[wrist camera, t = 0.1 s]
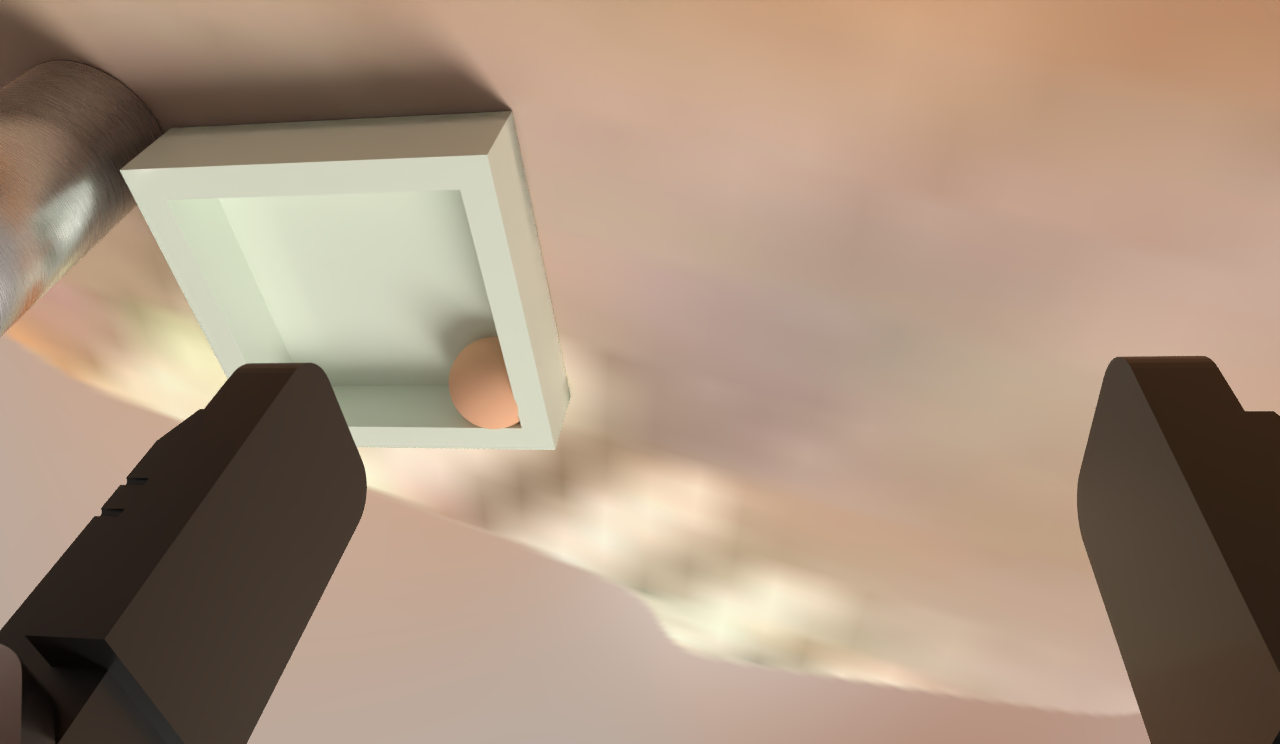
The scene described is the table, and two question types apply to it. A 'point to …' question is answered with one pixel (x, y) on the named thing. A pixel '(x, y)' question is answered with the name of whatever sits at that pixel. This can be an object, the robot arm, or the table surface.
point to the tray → (365, 263)
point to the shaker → (62, 173)
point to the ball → (483, 386)
